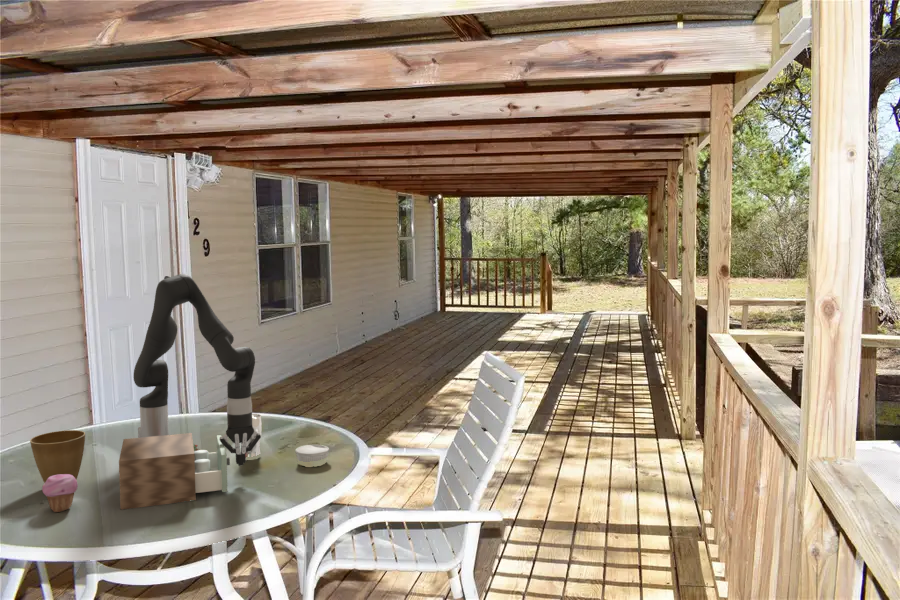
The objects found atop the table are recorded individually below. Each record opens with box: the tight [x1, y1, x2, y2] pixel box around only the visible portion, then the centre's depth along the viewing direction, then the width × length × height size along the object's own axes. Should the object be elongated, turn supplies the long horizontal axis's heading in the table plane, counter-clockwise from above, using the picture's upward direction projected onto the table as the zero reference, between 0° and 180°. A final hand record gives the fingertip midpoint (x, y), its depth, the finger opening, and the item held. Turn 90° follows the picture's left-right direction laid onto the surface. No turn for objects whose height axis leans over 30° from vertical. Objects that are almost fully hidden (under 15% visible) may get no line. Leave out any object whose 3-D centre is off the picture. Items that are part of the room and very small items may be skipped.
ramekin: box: [294, 444, 330, 462], centre depth 242 cm, size 11×11×5 cm
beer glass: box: [246, 413, 263, 457], centre depth 248 cm, size 7×7×15 cm
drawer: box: [194, 434, 231, 494], centre depth 218 cm, size 21×23×11 cm
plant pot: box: [29, 429, 86, 484], centre depth 218 cm, size 15×15×16 cm
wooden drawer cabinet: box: [118, 432, 197, 511], centre depth 215 cm, size 20×24×14 cm
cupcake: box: [41, 474, 79, 513], centre depth 200 cm, size 9×9×10 cm
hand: (240, 464), depth 224 cm, fingers closed
